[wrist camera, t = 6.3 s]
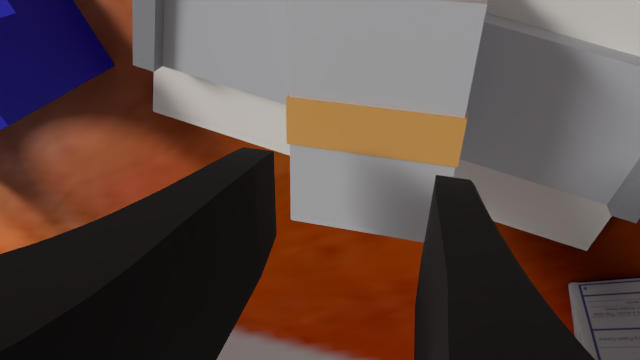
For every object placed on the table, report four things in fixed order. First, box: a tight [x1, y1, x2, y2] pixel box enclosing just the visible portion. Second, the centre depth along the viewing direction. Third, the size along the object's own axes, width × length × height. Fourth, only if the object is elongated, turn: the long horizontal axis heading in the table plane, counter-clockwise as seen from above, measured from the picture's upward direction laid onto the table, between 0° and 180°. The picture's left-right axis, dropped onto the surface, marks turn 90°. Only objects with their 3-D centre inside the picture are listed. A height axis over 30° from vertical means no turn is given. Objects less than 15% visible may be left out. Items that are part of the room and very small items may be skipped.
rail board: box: [132, 0, 640, 251], centre depth 16 cm, size 18×10×2 cm, turn 77°
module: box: [286, 0, 487, 242], centre depth 14 cm, size 4×6×5 cm
